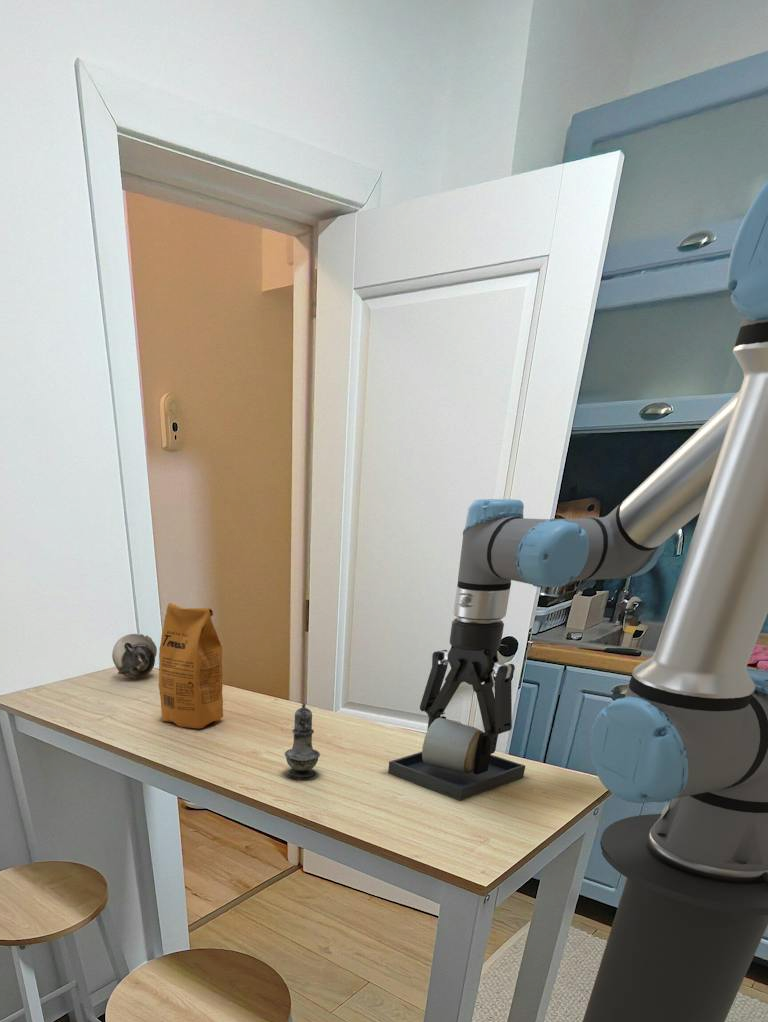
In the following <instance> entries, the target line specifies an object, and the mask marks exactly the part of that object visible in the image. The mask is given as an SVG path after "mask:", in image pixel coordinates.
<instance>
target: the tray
mask: <svg viewBox="0 0 768 1022" xmlns="http://www.w3.org/2000/svg"><path fill="white" fill-rule="evenodd" d="M387 770H388V771H387V773H388V774H390V775H393V776H395V777H398V778H400V779H403V780H405V781H408V782H410V783H413V784H416V785H419V786H421V787H424V788H426V789H429V790H432V791H434V792H437V793H438V794H441V795H444V796H447V797H449V798H452V799H455V800H457V801H463V800H466V799H469V798H472V797H474V796H477V795H479V794H482V793H485V792H487V791H490V790H492V789H495V788H499V787H501V786H503V785H507V784H509V783H511V782H514V781H516V780H519V779H521V778H524V776H525V770H526V765H524V764H522V763H518V762H515V761H513V760H510V759H505V758H504V757H499V756H497V755H494V754H491V755H490V761H489V766H488V771H486V772H483V773H480V774H478V775H477V774H474V773H473V772H474V770H473V771H472V772H470V773H462V772H457V771H453V770H449V769H444V768H440V767H436V766H432V765H427V764H425V763H424V762H423V759H422V751H419V752H416V753H412V754H409V755H406V756H402V757H400V758H396V759H393V760H390V761H388V769H387Z"/></svg>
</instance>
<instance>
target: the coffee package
mask: <svg viewBox="0 0 768 1022" xmlns="http://www.w3.org/2000/svg"><path fill="white" fill-rule="evenodd" d="M213 616H214V611H213V609H211V608H210V607H199V608H197V607H196V608H190V607H189V608H183V607H180V606H178V605H176V604H174V603H172V602H169V603H168V604H167V607H166V611H165V615H164V620H163V626H162V632H161V636H160V645H159V647H158V648H159V650H158V651H159V653H158V690H159V698H160V710H161V711H160V712H161V721H162V722H167V723H168V722H169V723H173V724H175V725H176V726H178V727H180V728H189V729H198V730H199V729H204V728H205V727H206V726H207V725H209V724H211V723H213V722H217V721H220V720H221V719H223V718H224V699H223V697H224V696H223V685H224V684H223V647H222V644H221V641H220V639H219V636H218V633H217V630H216V629H215V626H214V623H213V620H212V617H213Z"/></svg>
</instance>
